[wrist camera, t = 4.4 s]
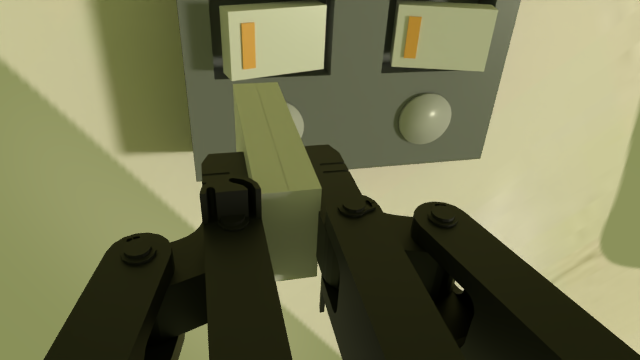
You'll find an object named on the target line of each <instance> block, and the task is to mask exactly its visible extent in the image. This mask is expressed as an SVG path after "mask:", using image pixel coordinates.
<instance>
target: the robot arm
mask: <svg viewBox="0 0 640 360" xmlns="http://www.w3.org/2000/svg"><path fill="white" fill-rule="evenodd" d="M233 97H234V115H235V133H236V152H230V153H215V154H208V155H207V157H206V158H205V159H204V161H203V162H202V164H201V168H202V188H201V191H200V203H201V212H202V221H203V222H202V224H201V225H200V227H199V228H198V229H197V230H196V231H195V232H193V233H192V234H190V235H189V236H187V237H185V238H182V239H180V240H177V241H174V242H171V243H170V242H169V241H168V240H167V239H166V238H164V237H163V236H161V235H159V234H152V233H138V234H133V235H131V236H127V237H124V238H122V239H120V240H119V241H117V242H115V243H114V244H113V245H112V246H111V247H110V248H109V249H108V250H107V251H106V253H105V255H104V256H103V258H102V260H101V261H100V263H99V265H98V267H97V268H96V270H95V272H94V274H93V276H92V277H91V279H90V280H89V283H88V284H87V286H86V287H85V289H84V291H83V293H82V294H81V296H80V298H79V299H78V301H77V303H76V305H75V306H74V308H73V310H72V312H71V313H70V315H69V317H68V318H67V320H66V322H65V324H64V325H63V327H62V329H61V330H60V332H59V334H58V336H57V337H56V339H55V341H54V343H53V344H52V346H51V348H50V350H49V351H48V353H47V355H46V356H45V358H44V360H178V359H179V355H180V352H181V349H182V345H183V342H184V337H185V332H188V331H190V330H192V329H195V328H197V327H199V326H202V325H204V324H206V323H208V341H209V342H208V343H209V360H292V356H291V351H290V346H289V342H288V337H287V333H286V328H285V324H284V319H283V314H282V309H281V305H280V300H279V295H278V291H277V286H276V281H284V280H291V279H299V278H306V277H314V276H317V261H318V264H319V267H320V270H321V273H322V277H321V291H320V312H324V307H325V305H326V308H327V311H328V314H329V317H330V321H331V324H332V327H333V330H334V334H335V337H336V340H337V343H338V346H339V350H340V353H341V356H342V359H343V360H640V355H639V354H638V353H636V352H635V351H634V350H633V349H632V348H630V347H629V346H628V345H627V344H625V343H624V342H623V341H622V340H621V339H619V338H618V337H617V336H616V335H614V334H613V333H612V332H611V331H610V330H608V329H607V328H606V327H605V326H603V325H602V324H601V323H600V322H598V321H597V320H596V319H595V318H594V317H592V316H591V315H590V314H589V313H587V312H586V311H585V310H584V309H583V308H581V307H580V306H579V305H578V304H576V303H575V302H574V301H573V300H572V299H570V298H569V297H568V296H567V295H565V294H564V293H563V292H562V291H561V290H559V289H558V288H557V287H556V286H554V285H553V284H552V283H551V282H550V281H548V280H547V279H546V278H545V277H543V276H542V275H541V274H540V273H539V272H537V271H536V270H535V269H534V268H532V267H531V266H530V265H529V264H527V263H526V262H525V261H524V260H523V259H521V258H520V257H519V256H518V255H516V254H515V253H514V252H513V251H512V250H510V249H509V248H508V247H507V246H505V245H504V244H503V243H502V242H501V241H499V240H498V239H497V238H496V237H494V236H493V235H492V234H491V233H490V232H488V231H487V230H486V229H485V228H483V227H482V226H481V225H480V224H479V223H477V222H476V221H475V220H474V219H472V218H471V217H470V216H469V215H468V214H466V213H465V212H464V211H462V210H461V209H459V208H457V207H456V206H453V205H450V204H447V203H443V202H428V203H424V204H422V205H420V206H418V207H417V208H416V210H415V211H414V215H413V217H407V216H398V215H392V214H386V213H384V212H383V211H382V210H381V208H380V206H379V205H378V204H377V203H376V202H375V201H374V200H373V199H371V198H369V197H367V196H364V195H362V194H361V192H360V190H359V189H358V187H357V185H356V183H355V181H354V179H353V177H352V175H351V174H350V172H349V171H348V168H347V166H346V164H344V160H343V159H342V157H341V155H340V153H339V152H338V151H337V150H335V149H334V148H332V147H331V146H330V145H328V144H326V145H312V146H304V145H303V142H302V140H301V137H300V135H299V133H298V130H297V128H296V125H295V123H294V121H293V118H292V116H291V113H290V111H289V109H288V106H287V104H286V102H285V99H284V97H283V94H282V92H281V90H280V87H279V85H278V82H270V83H245V84H233ZM455 281H456V282H457V283H458V284H459V285H460V286H461V287H462V288H463V289H464V291H462V290H460V289H459V288H458V287H457V286H456V285H455V284H454V282H455Z"/></svg>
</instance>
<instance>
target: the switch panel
mask: <svg viewBox="0 0 640 360" xmlns="http://www.w3.org/2000/svg"><path fill="white" fill-rule="evenodd" d="M286 1H302V0H177V9H178V18H179V27H180V36H181V45H182V54H183V63H184V72H185V81H186V90H187V99H188V108H189V117H190V126H191V135H192V144H193V153H194V162H195V171H196V181H197V182H198V181H202V168H201V164H202V162H203V161H204V159H205V158H206V157H207V155H208V154H215V153H230V152H236V133H235V115H234V97H233V84H245V83H270V82H278V85H279V87H280V90H281V92H282V94H283V97H284V99H285V102H286V104H287V106H288V109H289V111H290V113H291V116H292V118H293V121H294V123H295V125H296V128H297V130H298V133H299V135H300V137H301V140H302V142H303V145H304V146H312V145H326V144H328V145H330V146H331V147H332V148H334V149H335V150H337V151H338V152H339V153H340V155H341V157H342V159H343V160H344V164H346V166H347V168H348V169H358V168H371V167H383V166H395V165H408V164H420V163H432V162H444V161H457V160H469V159H480V157H481V154H482V150H483V146H484V142H485V138H486V134H487V130H488V126H489V122H490V118H491V115H492V111H493V107H494V103H495V99H496V95H497V91H498V87H499V83H500V79H501V75H502V72H503V68H504V64H505V60H506V56H507V52H508V48H509V44H510V40H511V36H512V33H513V29H514V25H515V21H516V17H517V13H518V9H519V5H520V1H521V0H415V1H434V2H453V3H471V4H490V5H493V6H494V7H495V8H497V9H498V14H497V18H496V22H495V27H494V31H493V35H492V40H491V44H490V48H489V52H488V57H487V61H486V65H485V69H484V72H481V71H463V70H444V69H426V68H408V67H391V63H390V60H389V58H390V50H391V42H392V34H393V26H394V18H395V10H396V2H397V0H317V1H319V2H321V3H324V4H326V5H327V9H326V30H325V50H324V69H319V70H312V71H304V72H297V73H289V74H282V75H274V76H267V77H259V78H252V79H245V80H237V81H231V80H230V79H229V78H228V77H227V76H226V75H225V74H224V72H223V56H222V41H221V26H220V11H219V6H224V5H239V4H255V3H270V2H286Z"/></svg>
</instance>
